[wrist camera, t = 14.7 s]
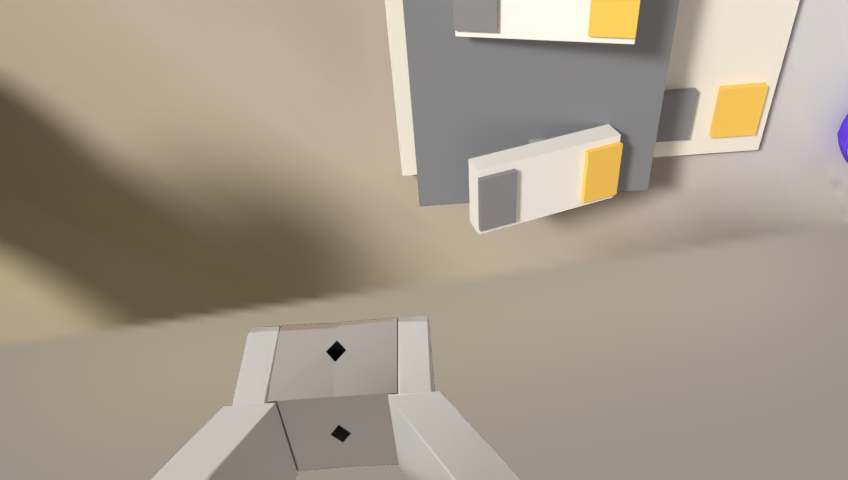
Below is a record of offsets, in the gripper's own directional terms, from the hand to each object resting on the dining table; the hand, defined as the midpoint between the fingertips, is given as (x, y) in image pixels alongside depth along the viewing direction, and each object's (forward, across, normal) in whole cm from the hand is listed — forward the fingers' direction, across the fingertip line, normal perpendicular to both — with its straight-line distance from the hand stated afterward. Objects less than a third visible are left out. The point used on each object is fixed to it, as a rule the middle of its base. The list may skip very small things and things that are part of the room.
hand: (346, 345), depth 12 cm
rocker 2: (+23, -7, +12) cm, 27 cm away
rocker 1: (+23, -7, +2) cm, 24 cm away
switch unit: (+29, -11, +8) cm, 32 cm away
